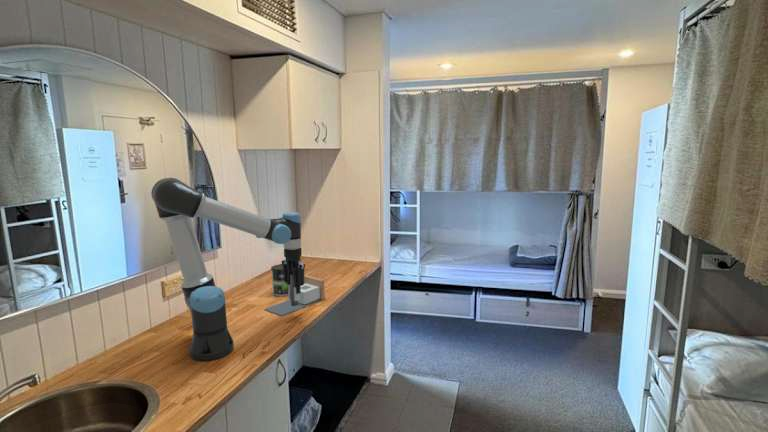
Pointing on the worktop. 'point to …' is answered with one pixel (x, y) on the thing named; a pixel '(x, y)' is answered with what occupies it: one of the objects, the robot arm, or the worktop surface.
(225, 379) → the worktop surface
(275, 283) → the coffee can
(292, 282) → the dowel
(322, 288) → the wall
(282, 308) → the rubber mat
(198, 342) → the robot arm
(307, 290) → the hole block
